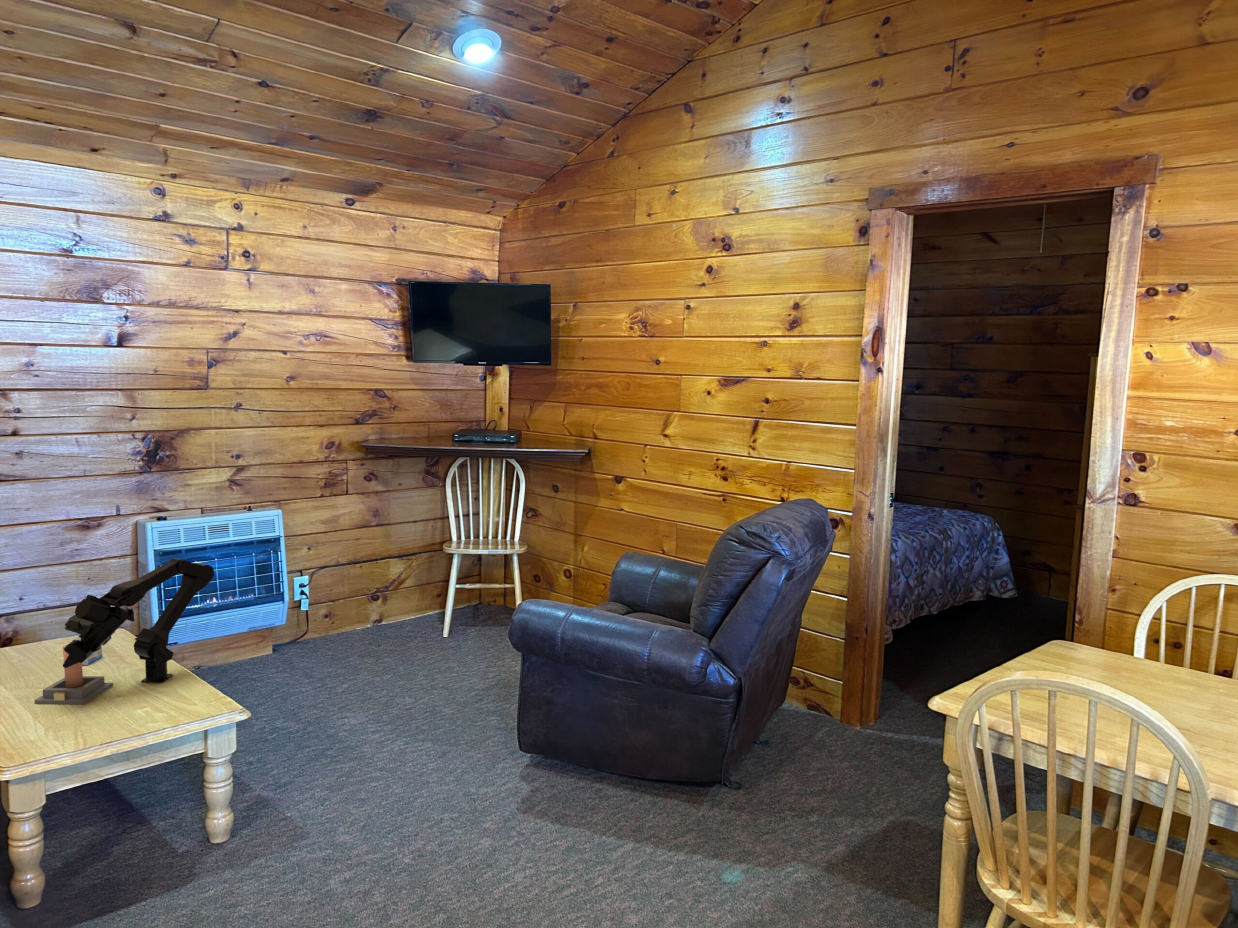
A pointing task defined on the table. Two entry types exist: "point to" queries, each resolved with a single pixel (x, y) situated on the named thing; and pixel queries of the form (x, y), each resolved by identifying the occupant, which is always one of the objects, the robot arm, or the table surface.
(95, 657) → the medicine box
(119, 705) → the table surface
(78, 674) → the terracotta peg
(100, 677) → the gray square tray
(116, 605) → the robot arm
